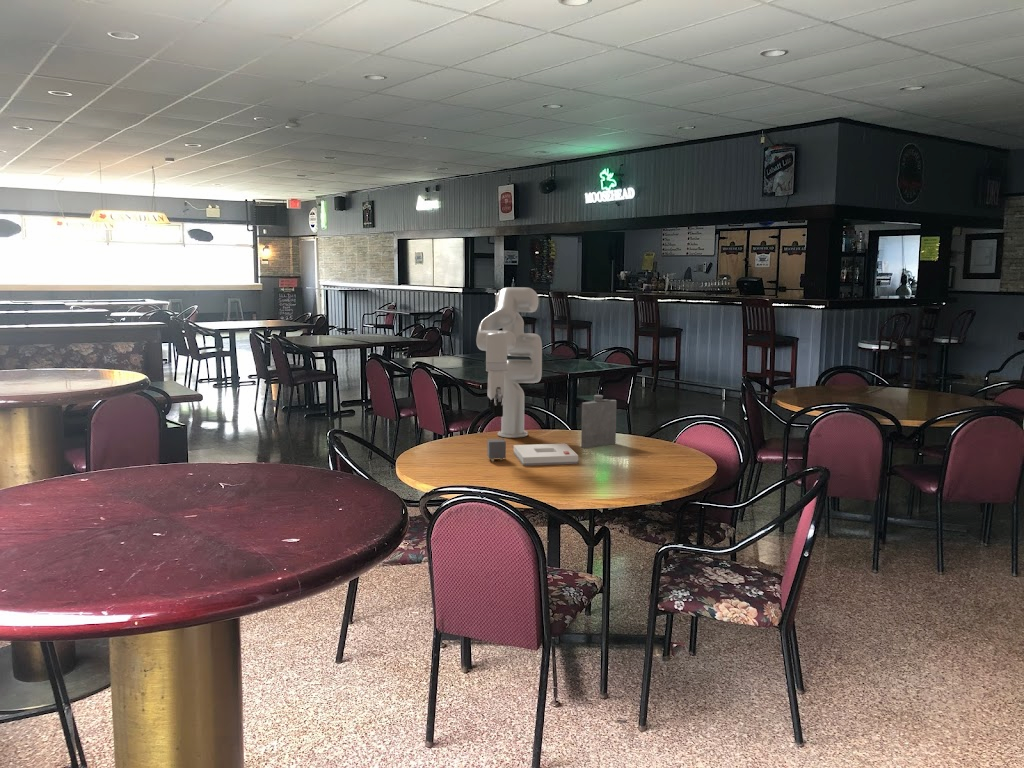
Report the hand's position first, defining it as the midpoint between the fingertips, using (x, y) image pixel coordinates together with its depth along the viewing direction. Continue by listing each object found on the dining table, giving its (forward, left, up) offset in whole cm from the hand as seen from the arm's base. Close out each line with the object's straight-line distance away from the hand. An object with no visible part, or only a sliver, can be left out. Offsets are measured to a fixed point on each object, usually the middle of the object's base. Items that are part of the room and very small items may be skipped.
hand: (496, 414), depth 288 cm
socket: (0, +18, -17) cm, 25 cm away
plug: (0, 0, -17) cm, 17 cm away
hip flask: (-18, +43, -17) cm, 50 cm away
